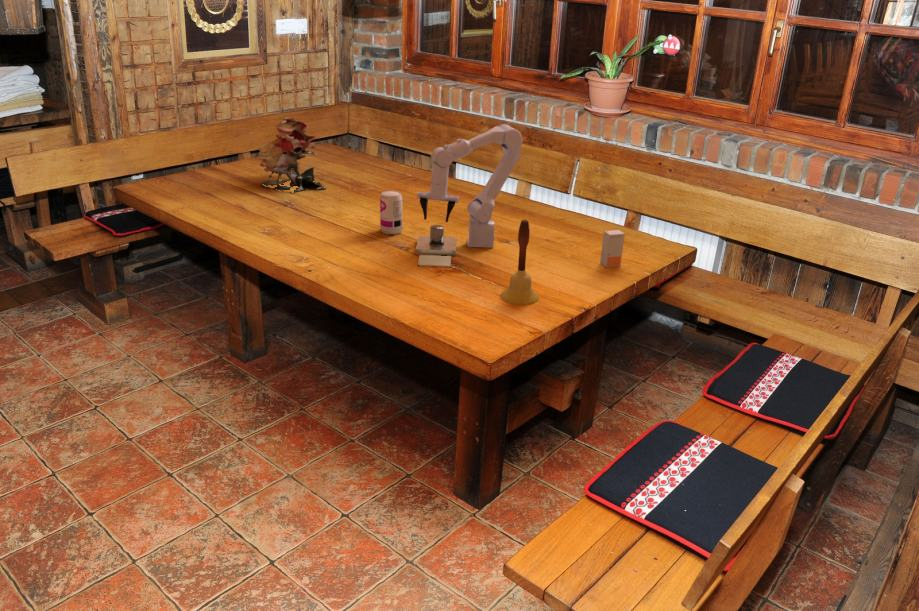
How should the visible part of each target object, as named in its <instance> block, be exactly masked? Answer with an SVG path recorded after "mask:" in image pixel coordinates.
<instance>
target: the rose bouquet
mask: <svg viewBox="0 0 919 611" xmlns="http://www.w3.org/2000/svg"><path fill="white" fill-rule="evenodd" d="M308 128H309V126H308V125H307V124H305V123H304V122H301V121H299V120H296V118H294V117H285V118H281V119H280V121H279V122H278V125H277V124H276V125H275V129H276V130H277V132H278V134H276V135H275V136H276V139H275V140H270V141H266V142H264V143H263V144H262V145H261V147H260V148H259V156H260V157H259V159H262V160H261V163H260V164H259V165H260V167H263V168H264V169H263V171H264V172H266V173H268V172H271V174H269V175H268V178H267V179H263V180H262V181H261V184H264V185H266V186H268V185H271V186H273V185H277V187H275V188H274V189H277V190H290V188H291V187H287V186H280V185H279V184H281V185H284V184H283V183H285V182H287V181H290V180H291V182H292V183H291V185H292V184H293V185H292V186H298V187H299V188H297V189H296V190H294V192H295V193H296V192H297V191H298V192H299V191H301V190H303V191H307V190H306V189H307V188H306V187H303V185H317V186H319V187H317V188H316V189H317V190H326V189H325V188H324V185H323V184H322V183H321V182H317V181H315V175H314V169H315V168H316V167H313V166H312V167H310V168H308V169H305V171H304V172H302V173H300V168H299V164H300V161H299V160H301V159H304V158H306V157H307V155H313V156H317V153H315V152H314V151H312V150H306V149H308V147H309V146H310V145H311V142H312V141H313V139H315V138H316V136H314V135H310V136H309V135H307V134H306V133H307V130H308ZM311 148H316V146H315V145H314V146H311ZM330 159H332V157H330ZM298 161H299V162H298ZM273 174H277V179H270V178H272V177H273V176H272V175H273ZM282 175H285V176H287V178H288V180H287V178H285V179H286V180H282V181H279V179H281V178H282ZM313 181H315V182H313ZM316 182H317V183H316ZM321 184H322V185H323V186H322V185H321ZM274 189H273V190H274ZM301 192H302V191H301Z"/></svg>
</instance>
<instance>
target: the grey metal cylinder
mask: <svg viewBox="0 0 919 611" xmlns="http://www.w3.org/2000/svg"><path fill="white" fill-rule="evenodd" d="M429 229H430V230H429V231H430V232H429V236H430V243H431V245H434V246H442V244H443V240H444V237H445V234H444V232H445V227H444V226H443V225H439V224H434V225H433V224H432V225H430V227H429Z"/></svg>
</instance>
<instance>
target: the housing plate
mask: <svg viewBox="0 0 919 611" xmlns="http://www.w3.org/2000/svg"><path fill="white" fill-rule="evenodd" d="M457 240H458V239H457V236H444V240H443V244H442V246H434V245H431V243H430V235H418V236H417V243H416V245H415V246H416V247H415V255H416V254H425V255H434V256H441V255H447V256H451V257H456V256H457V254H456V253H457V242H458V241H457Z"/></svg>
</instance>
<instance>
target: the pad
mask: <svg viewBox="0 0 919 611" xmlns="http://www.w3.org/2000/svg"><path fill="white" fill-rule="evenodd" d="M451 261H452V256H441V255H419V257H418V262H417V266H418V265H419V266H418V267H433V266H437V267H438V268H439V267H440V268H451V263H452V262H451ZM437 267H436V268H437Z"/></svg>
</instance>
